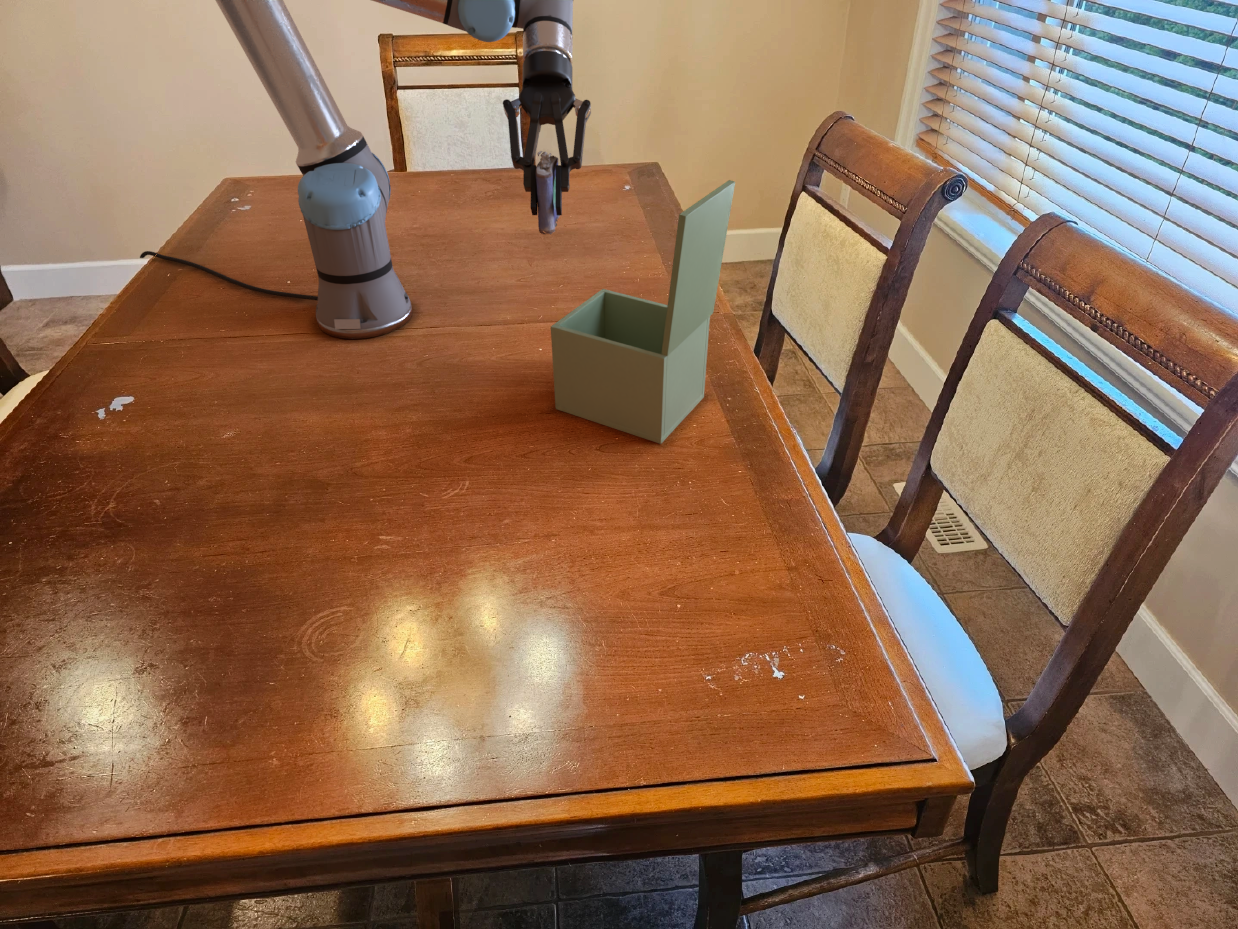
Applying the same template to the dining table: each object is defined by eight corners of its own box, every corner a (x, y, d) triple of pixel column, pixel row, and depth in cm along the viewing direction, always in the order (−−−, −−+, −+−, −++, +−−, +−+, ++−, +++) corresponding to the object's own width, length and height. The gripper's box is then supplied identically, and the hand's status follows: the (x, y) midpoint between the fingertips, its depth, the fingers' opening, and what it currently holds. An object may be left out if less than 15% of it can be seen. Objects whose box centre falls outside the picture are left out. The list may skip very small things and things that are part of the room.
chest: (555, 409, 110) (550, 326, 103) (604, 367, 119) (602, 288, 112) (660, 444, 104) (664, 358, 96) (704, 397, 113) (710, 315, 105)
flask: (554, 235, 119) (550, 161, 112) (534, 234, 119) (530, 161, 112) (561, 213, 126) (558, 142, 119) (543, 212, 126) (539, 142, 120)
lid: (678, 214, 85) (685, 216, 84) (729, 179, 94) (735, 181, 93) (661, 354, 96) (667, 356, 96) (707, 311, 105) (713, 313, 105)
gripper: (600, 79, 124) (600, 222, 121) (498, 78, 124) (495, 222, 121) (600, 47, 117) (600, 199, 114) (491, 47, 116) (488, 199, 113)
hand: (546, 210), depth 117 cm, fingers closed on flask, 3 cm apart
